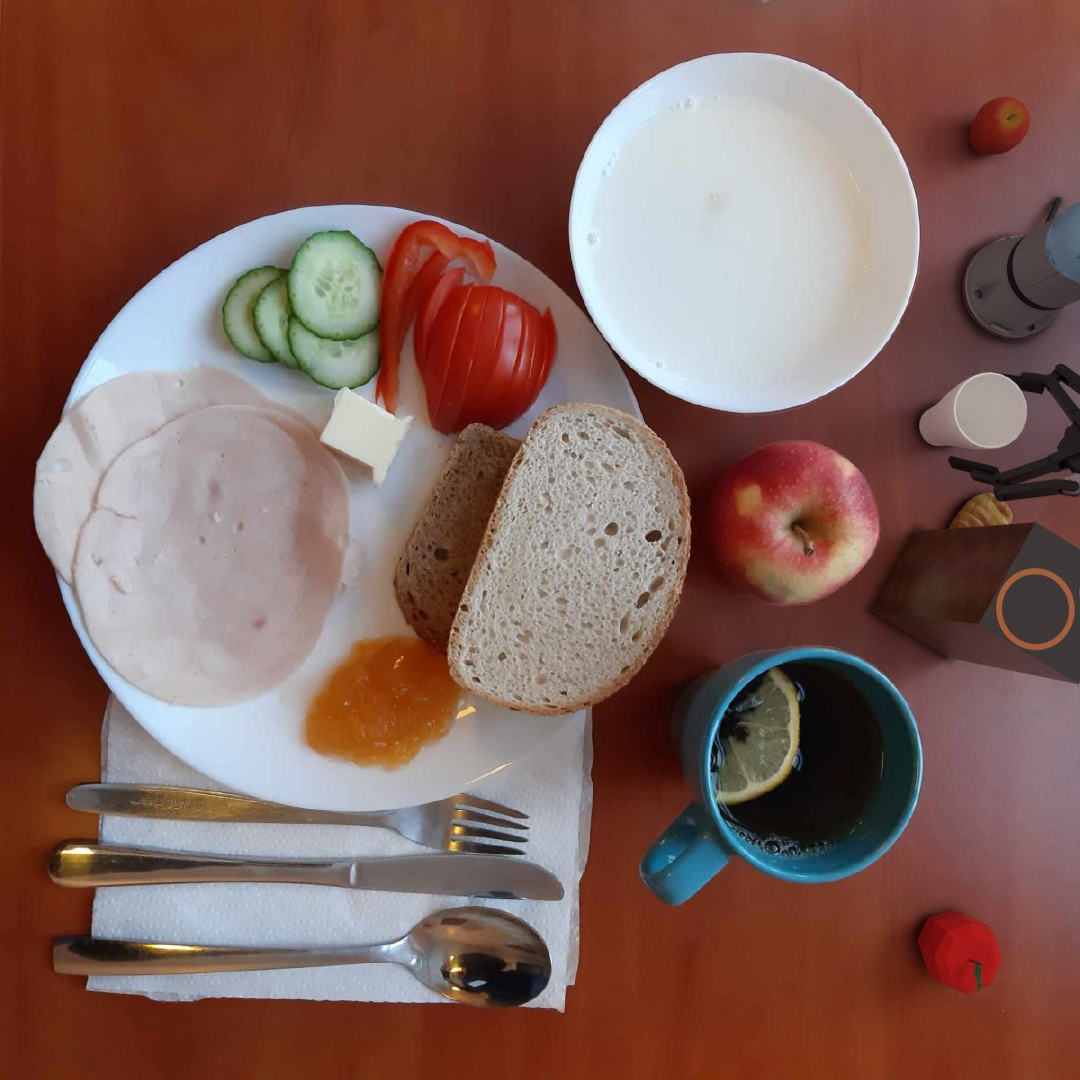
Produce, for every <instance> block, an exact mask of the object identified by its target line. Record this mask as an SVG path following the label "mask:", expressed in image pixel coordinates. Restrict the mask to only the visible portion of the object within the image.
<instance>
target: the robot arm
mask: <svg viewBox="0 0 1080 1080" xmlns="http://www.w3.org/2000/svg"><path fill="white" fill-rule="evenodd" d="M1062 201H1063V198H1061V196H1059V197H1055V198H1054V201H1053V203H1052V205H1051V207H1050V210H1049V212H1048V214H1047V217H1046V218H1045V221H1044V223H1043V224H1042V225H1040V226H1038V227H1037V228H1035V229H1033V230H1032V231H1030V232H1029V233H1027V234H1023V235H1008V236H1004V237H1001V238H997V239H995V240H993V241H991V242H989V243H987V244H986V245H984V246H983V247H981V248H980V249H979V250H977V251H976V252H975V253H974V254H973V256H971V258H970V259H969V261H968V262H967V264H966V266H965V268H964V271H963V274H962V278H961V287H960V288H961V298H962V302H963V306H964V308H965V310H966V313H967V314H968V316H969V317H970V318H971V320H972V321H973V322H974V324H975V325H976V326H978V328H980V329H981V330H983V331H984V332H986V333H987V334H989V335H992V336H994V337H996V338H1000V339H1006V340H1015V339H1022V338H1025V337H1028V336H1031V335H1033V334H1036V333H1038V332H1040V331H1041V330H1043V329H1044V328H1045V327H1047V326H1048V325H1050V323H1052V322H1053V321H1054V320H1055V318H1056V317H1057V316H1058V315H1059V314H1060V313H1061V312H1062V310H1063V309H1064V308H1065V307H1067V306H1069V305H1072V304H1074V303H1076V302H1078V301H1080V201H1078V202H1075V203H1074V204H1072V205H1071V206H1069V207H1067V208H1066V209H1064V210H1063V211H1062V212H1061V213H1059V214H1057V212H1058V210H1059V208H1060V206H1061V204H1062ZM991 372H992V373H998V374H1001V375H1004V376H1006V377H1008V378H1010V379H1011V380H1012V381H1013V382H1014V383H1015V384H1017V386H1018V387H1019V388H1020V390H1021V391H1022V392H1027V393H1031V394H1037V395H1043V394H1044V392H1045V389H1046V391H1047V392H1049V394H1050V395H1051V397H1052V398H1053V399H1054V401H1055V402H1056V403H1057V405H1058V406H1059V407H1060V408H1061V410H1062V412H1063V413H1064V414H1065V416H1067V418H1068V419H1069V420H1070V422H1071V425H1069V426H1066V428H1065V430H1064V435H1063V437H1062V438H1061V440H1060V441H1059V442H1058V444H1057V446H1056V448H1057V451H1055V452H1053V453H1050V454H1048V455H1047V456H1046V457H1043V458H1039V459H1037V460H1034V461H1031V462H1028V463H1025V464H1022V465H1020V466H1016V467H1013V468H1010V469H1007V470H1005V471H1001V472H1000V470H999V467H997V466H994V465H990V464H985V463H982V462H978V461H974V460H969V459H966V458H962V457H958V456H954V455H949V457H948V458H947V462H948V463H949V465H950V467H951V469H953V470H957V471H961V472H965V473H969V476H970V478H971V479H972V480H973V481H974V482H978V483H982V484H986V485H989V486H993V489H992V494H994V495H995V497H996V500H997V501H999V502H1009V501H1019V500H1027V499H1035V498H1042V497H1052V496H1059V495H1061V496H1065V497H1072V498H1077V497H1079V496H1080V408H1079V407H1078V406H1077V404H1076V403H1075V402H1074V401H1073V399H1072V398H1071V396H1070V395H1069V393H1067V391H1066V390H1065V388H1064V387H1063V386H1062V385H1061V383H1063V384H1064V385H1066V386H1067V387H1068V388H1070V389H1071V390H1072V391H1074V392H1075V393H1076V394H1077V395H1080V374H1078V373H1077V372H1075V371H1074V370H1073V369H1072V368H1070V367H1069V366H1068V365H1065V364H1064V363H1058V364H1056V365H1055V366H1054V369H1053V370H1052V371H1050V373H1048V374H1043V373H1042V374H1041V373H1037V372H1030V371H1021V373H1020V375H1014V374H1009V373H1003V372H998V371H991ZM1060 382H1061V383H1060ZM1066 470H1069V471H1071V473H1072V475H1069V476H1067V475H1065V476H1064V477H1063V478H1053V479H1046V480H1037V481H1031V480H1034V479H1036V478H1040V477H1043V476H1045V475H1049V474H1052V473H1054V474H1055V473H1060V472H1063V471H1066ZM1028 481H1030V482H1028Z"/></svg>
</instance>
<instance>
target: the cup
mask: <svg viewBox="0 0 1080 1080" xmlns="http://www.w3.org/2000/svg"><path fill="white" fill-rule="evenodd" d="M992 372H993V371H991V372H989V371H987V372H980V373H978V374H975V375H972V376H970V377H968V378H966V379H965V380H963V381H961V382H960V383H959V384H957V385H956V386H955V387H954V388H952V389H951V390H949V392H947V393H946V394H945V395H944V396H943V397H942V399H940V400H939V401H938V402H937V403H936V404H935V405H933V406H932V407H929V408H928V409H926V410H925V411H924V413H923V414H922V415H921V417H920V419H919V424H918V427H919V431H920V435H921V437H922V439H924V441H925V442H926V443H928V444H930V445H932V446H935V447H944V446H949V447H956V448H960V449H965V450H975V451H985V450H993V449H1000V448H1004V447H1005V446H1008V445H1010V444H1011V443H1012V442H1014V441H1015V440H1016V439H1017V438H1018V437H1019V436H1020V435H1021V433H1022V432H1023V430H1024V427H1025V425H1026V423H1027V417H1028V406H1027V401H1026V397H1025V395H1024V393H1023V391H1021V390H1020V388H1019V387H1018V386H1017V384H1015V383H1014V382H1013V381H1012V380H1011V379H1010V378H1008V377H1006V376H1004V375H1001V374H998V373H999V372H998V373H992Z"/></svg>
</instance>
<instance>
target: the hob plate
mask: <svg viewBox="0 0 1080 1080" xmlns="http://www.w3.org/2000/svg"><path fill="white" fill-rule="evenodd" d="M1034 522H1035V523H1034V525H1033V527H1032V529H1031V531H1030V532H1029V534H1028V536H1027V538H1026V539H1025V541H1024V543H1023V545H1022V547H1021V548H1020V550H1019V552H1018V554H1017V556H1016V557H1015V559H1014V561H1013V563H1012V565H1011V566H1010V568H1009V570H1008V572H1007V573H1006V575H1005V577H1004V579H1003V581H1002V582H1001V584H1000V586H999V588H998V590H997V591H996V593H995V595H994V597H993V599H992V600H991V602H990V604H989V606H988V607H987V609H986V611H985V613H984V615H983V616H982V618H981V620H980V622H979V625H981V626H982V627H984V628H986V629H987V630H989V631H991V632H992V633H994V634H996V635H997V636H999V637H1001V638H1002V639H1004V640H1005V641H1007V642H1009V643H1010V644H1012V645H1014V646H1015V647H1017V648H1019V649H1020V650H1022V651H1024V652H1025V653H1027V654H1028V655H1030V656H1032V657H1033V658H1035V659H1037V660H1038V661H1040V662H1042V663H1043V664H1045V665H1047V666H1048V667H1050V668H1051V669H1053V670H1055V671H1056V672H1058V673H1060V674H1061V675H1063V676H1065V677H1066V678H1068V679H1069V680H1071V681H1073V682H1074V683H1076V684H1075V685H1078V686H1079V685H1080V547H1078V546H1077V545H1075V544H1074V543H1072V542H1070V541H1068V540H1067V539H1066V538H1064V537H1062V536H1060V535H1059V534H1057V533H1055V532H1054V531H1052V530H1051V529H1050V528H1047V527H1046V526H1044V525H1043V524H1041V523H1039V522H1038V521H1034ZM1074 683H1073V684H1074Z"/></svg>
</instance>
